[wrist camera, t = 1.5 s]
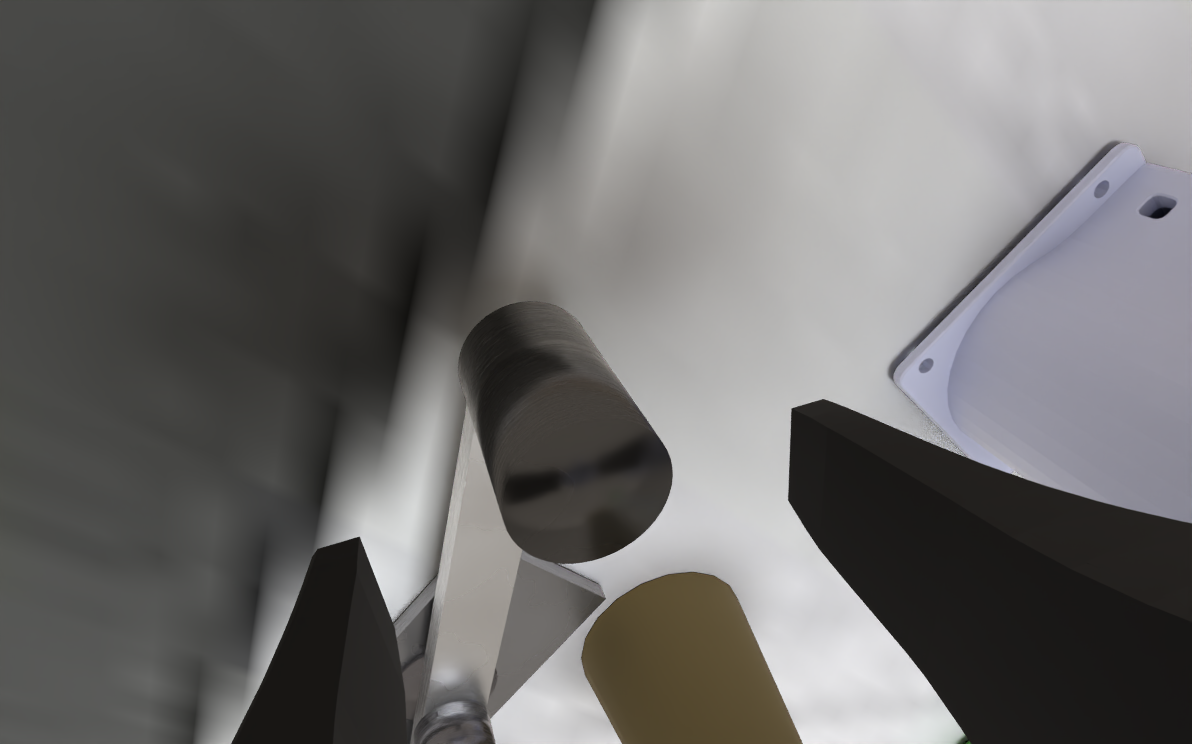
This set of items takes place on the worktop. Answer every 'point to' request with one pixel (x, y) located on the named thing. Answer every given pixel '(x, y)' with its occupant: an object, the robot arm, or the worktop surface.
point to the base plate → (507, 628)
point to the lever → (528, 495)
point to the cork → (684, 667)
